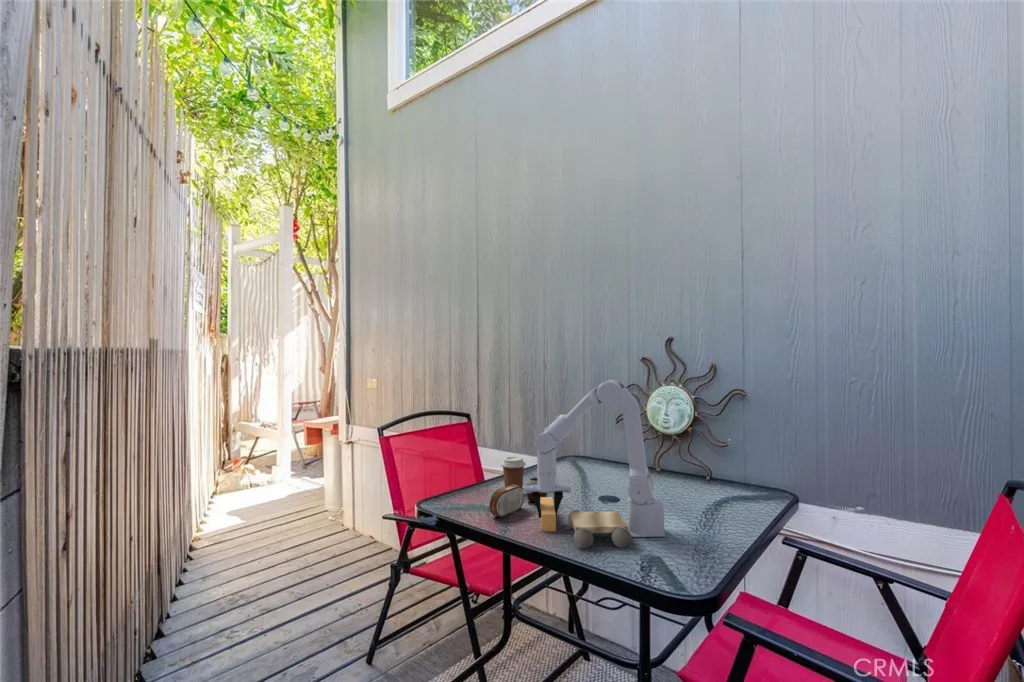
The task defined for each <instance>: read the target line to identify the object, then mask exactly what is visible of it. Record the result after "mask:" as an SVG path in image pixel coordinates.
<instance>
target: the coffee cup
mask: <svg viewBox="0 0 1024 682" xmlns="http://www.w3.org/2000/svg"><path fill="white" fill-rule="evenodd" d="M500 464H501V465H500V466H501V467H502V471H503V479H504V480H503V481H504V487H506V486H509V485H512V484H516V485H518V486H521V487H522V488H523V486H524V473H525V472H524V469H525V466H526V464H527V463H526V461H524V459H523V457H522V456H515V455H514V456H512V455H511V456H506V457H504V458H503V461H502V462H500Z"/></svg>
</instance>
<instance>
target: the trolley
mask: <svg viewBox="0 0 1024 682" xmlns="http://www.w3.org/2000/svg"><path fill="white" fill-rule="evenodd" d="M567 522H568V525H569V527H570V528H572V529H573V530H574V534H573V540H574V544H575V545H576V546H577V547H578V548H580V549H584V550H585V549H588V548H590V547H591V546H592V545H594V544H593V543H594V539H595V538H594V535H593V534H596V533H597V534H598V533H599V534H602V533H603V534H604V533H605V534H606V533H607V534H608V533H611V540H612V542H613V544H614V545H615V546H616V547H617V548H620V549H624V548H627V547H628V546H630V544H631V542H632V538H633V537H631V534H630V532H629V531H628V526H627V525H628V523H626V521H625V519H624V518H623V517H622V515H621V513H620V512H619V511H618V510H617V511H616V510H614V509H607V510H605V511H580V510H575V509H574V510H572V511H570V512H569V514H568V516H567Z"/></svg>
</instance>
